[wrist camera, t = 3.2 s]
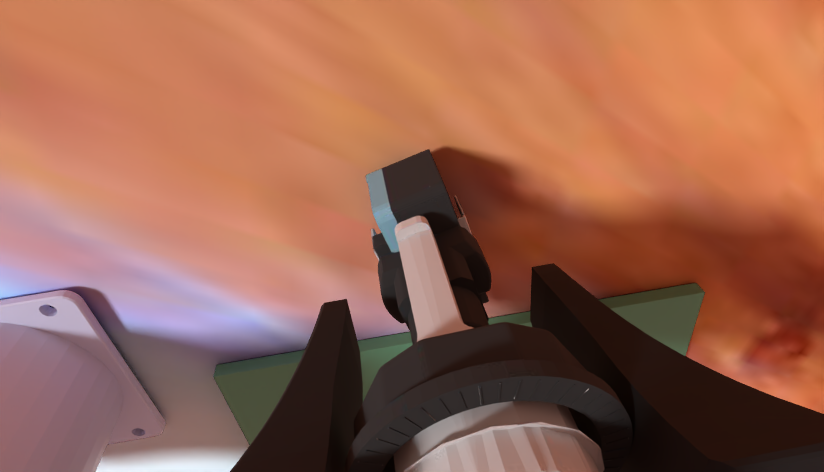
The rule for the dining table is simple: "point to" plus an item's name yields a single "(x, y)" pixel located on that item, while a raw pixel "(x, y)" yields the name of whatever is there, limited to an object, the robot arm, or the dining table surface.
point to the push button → (469, 357)
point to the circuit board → (269, 376)
